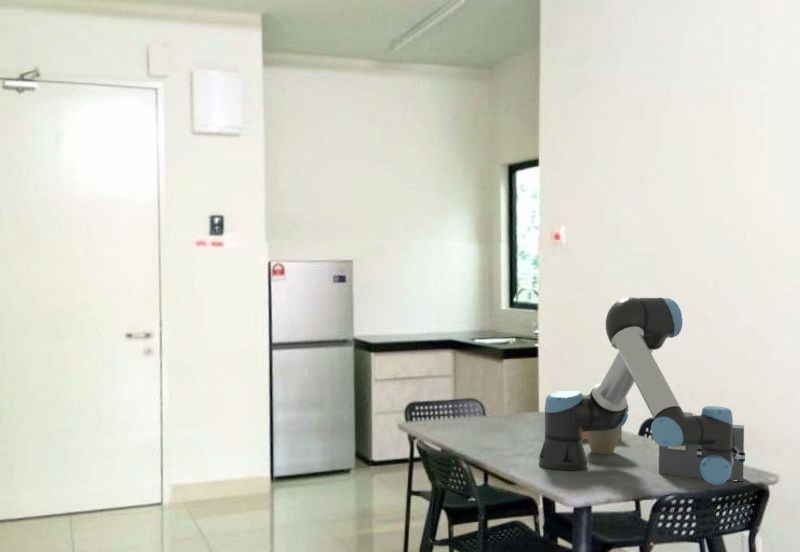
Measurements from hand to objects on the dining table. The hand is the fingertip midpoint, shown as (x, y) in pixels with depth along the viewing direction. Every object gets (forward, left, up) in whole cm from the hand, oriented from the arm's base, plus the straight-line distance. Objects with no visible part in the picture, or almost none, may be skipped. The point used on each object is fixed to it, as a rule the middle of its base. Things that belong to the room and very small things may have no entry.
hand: (724, 444), depth 247 cm
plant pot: (+13, +46, -11) cm, 49 cm away
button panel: (+2, +8, -11) cm, 13 cm away
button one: (-4, +13, -2) cm, 14 cm away
